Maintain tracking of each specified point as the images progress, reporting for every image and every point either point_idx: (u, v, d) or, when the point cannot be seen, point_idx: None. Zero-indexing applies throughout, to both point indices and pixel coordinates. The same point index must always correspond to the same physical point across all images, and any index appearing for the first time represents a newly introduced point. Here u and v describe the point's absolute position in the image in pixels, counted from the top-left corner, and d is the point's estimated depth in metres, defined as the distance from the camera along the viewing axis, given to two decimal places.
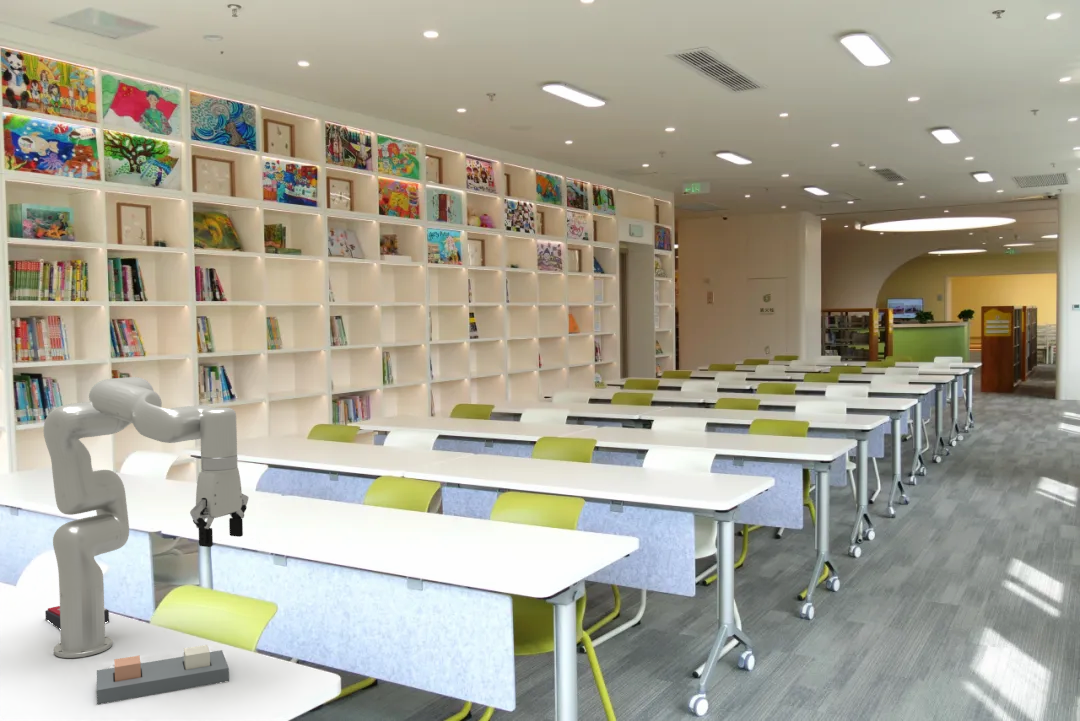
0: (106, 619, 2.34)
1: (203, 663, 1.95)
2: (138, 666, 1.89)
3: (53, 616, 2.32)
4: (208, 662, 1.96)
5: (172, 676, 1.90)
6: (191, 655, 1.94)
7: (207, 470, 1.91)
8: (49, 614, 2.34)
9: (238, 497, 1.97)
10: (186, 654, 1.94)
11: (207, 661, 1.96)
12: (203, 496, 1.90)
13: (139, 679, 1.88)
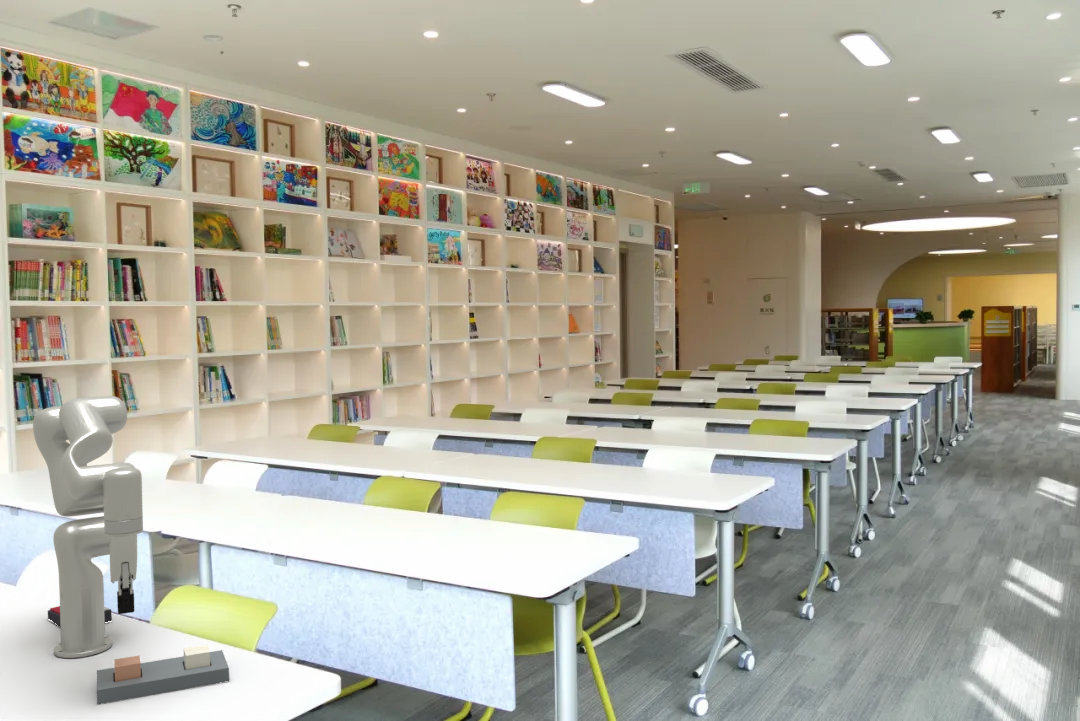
0: (109, 619, 2.34)
1: (203, 663, 1.95)
2: (138, 666, 1.89)
3: (56, 616, 2.32)
4: (208, 662, 1.96)
5: (172, 676, 1.90)
6: (191, 655, 1.94)
7: (123, 533, 1.86)
8: (51, 614, 2.34)
9: None
10: (186, 654, 1.94)
11: (207, 661, 1.96)
12: (124, 560, 1.85)
13: (139, 679, 1.88)
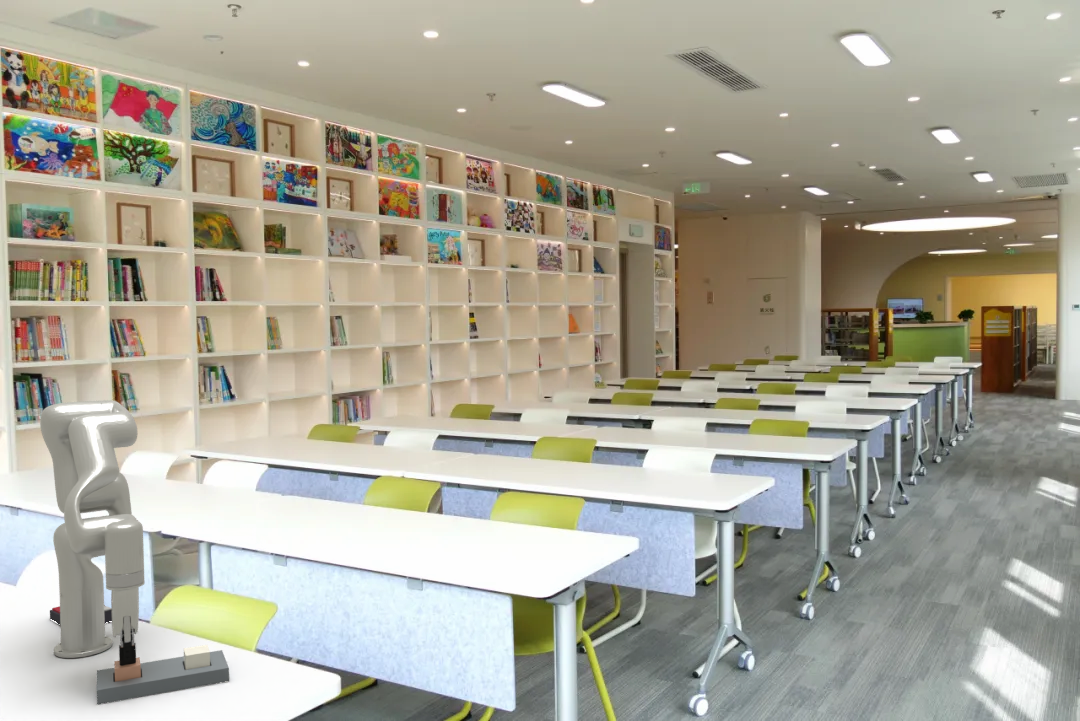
0: (111, 618, 2.34)
1: (203, 663, 1.95)
2: (138, 668, 1.89)
3: (58, 615, 2.32)
4: (208, 662, 1.96)
5: (172, 676, 1.90)
6: (191, 655, 1.94)
7: (125, 587, 1.87)
8: (54, 614, 2.34)
9: None
10: (186, 654, 1.94)
11: (207, 661, 1.96)
12: (125, 614, 1.86)
13: (139, 679, 1.88)
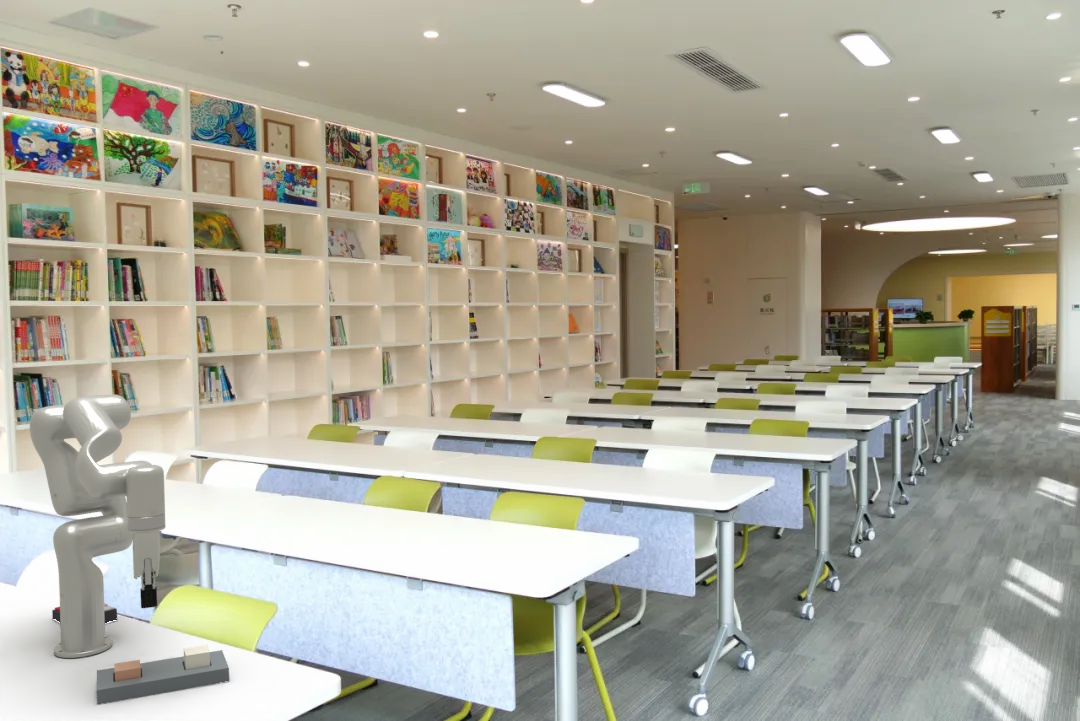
0: (114, 618, 2.35)
1: (203, 663, 1.95)
2: (138, 671, 1.90)
3: None
4: (208, 662, 1.96)
5: (172, 676, 1.90)
6: (191, 655, 1.94)
7: (146, 530, 1.88)
8: (56, 613, 2.35)
9: None
10: (186, 654, 1.94)
11: (207, 661, 1.96)
12: (146, 557, 1.87)
13: (139, 679, 1.88)
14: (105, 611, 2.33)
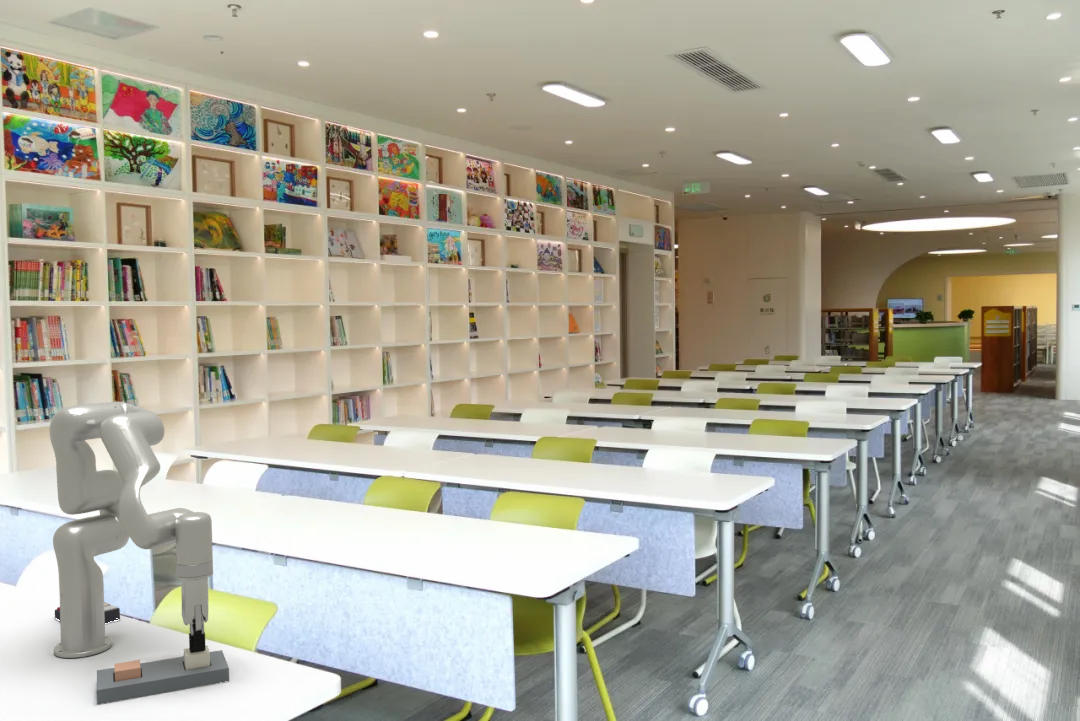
0: (117, 617, 2.35)
1: (203, 663, 1.95)
2: (138, 671, 1.90)
3: None
4: (208, 662, 1.96)
5: (172, 676, 1.90)
6: (191, 655, 1.94)
7: (196, 577, 1.93)
8: (59, 613, 2.35)
9: None
10: (186, 654, 1.94)
11: (207, 661, 1.96)
12: (197, 603, 1.92)
13: (139, 679, 1.88)
14: (108, 610, 2.34)
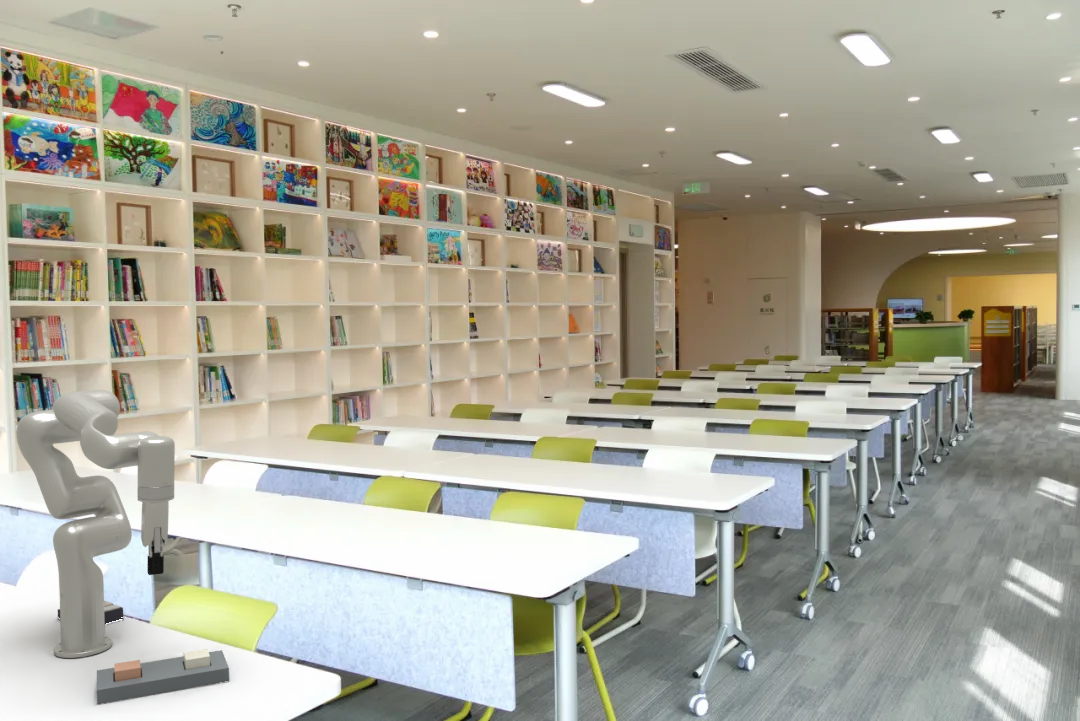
0: (121, 616, 2.36)
1: None
2: (138, 671, 1.90)
3: None
4: None
5: (172, 676, 1.90)
6: (191, 659, 1.94)
7: (157, 499, 1.93)
8: None
9: None
10: (186, 658, 1.95)
11: (207, 665, 1.96)
12: (156, 525, 1.92)
13: (139, 679, 1.88)
14: (112, 610, 2.34)
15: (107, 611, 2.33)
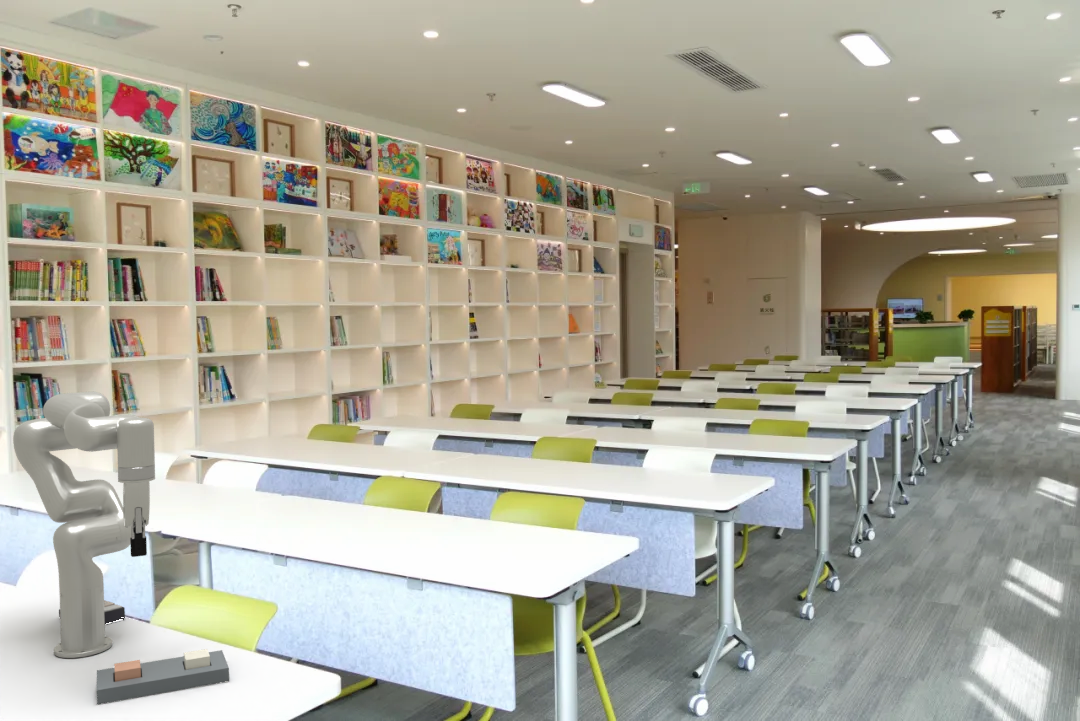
0: (122, 616, 2.36)
1: None
2: (138, 671, 1.90)
3: None
4: None
5: (172, 676, 1.90)
6: (191, 659, 1.94)
7: (137, 480, 1.93)
8: None
9: None
10: (186, 658, 1.95)
11: (207, 665, 1.96)
12: (137, 506, 1.92)
13: (139, 679, 1.88)
14: (113, 610, 2.34)
15: (109, 611, 2.33)
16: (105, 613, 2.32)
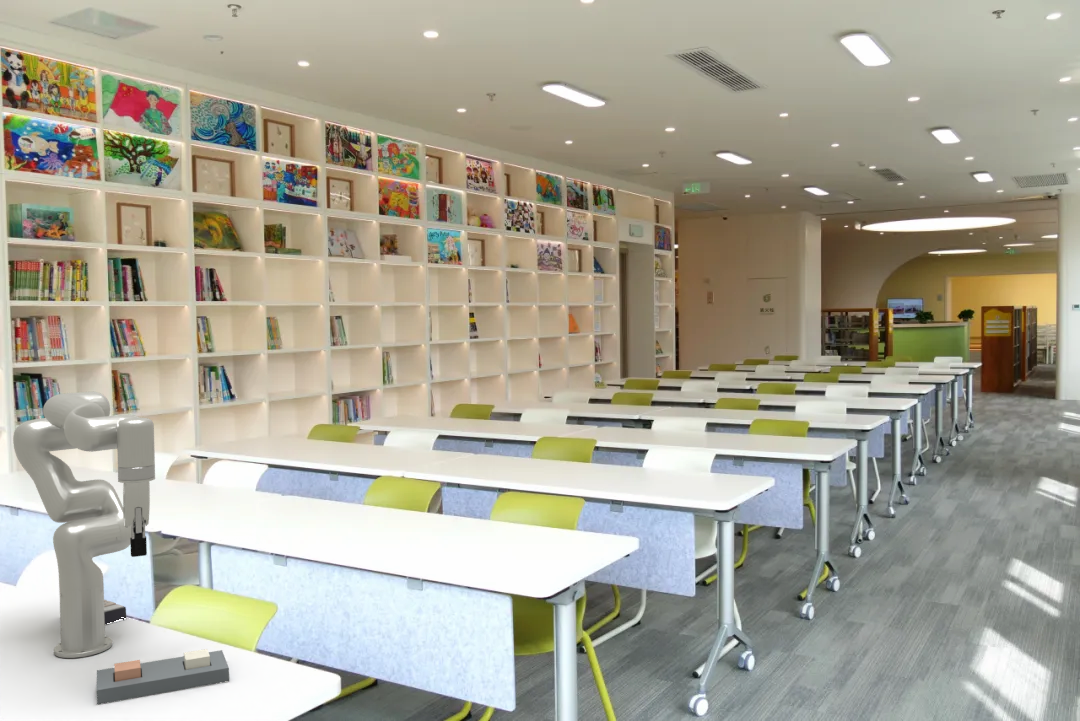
0: (123, 616, 2.36)
1: None
2: (138, 671, 1.90)
3: None
4: None
5: (172, 676, 1.90)
6: (191, 659, 1.94)
7: (137, 480, 1.93)
8: None
9: None
10: (186, 658, 1.95)
11: (207, 665, 1.96)
12: (137, 506, 1.92)
13: (139, 679, 1.88)
14: (114, 609, 2.34)
15: (110, 610, 2.34)
16: (106, 613, 2.33)
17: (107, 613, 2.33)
